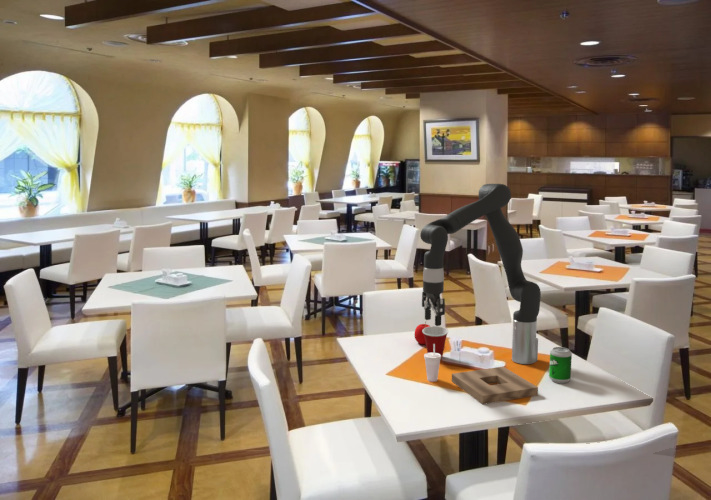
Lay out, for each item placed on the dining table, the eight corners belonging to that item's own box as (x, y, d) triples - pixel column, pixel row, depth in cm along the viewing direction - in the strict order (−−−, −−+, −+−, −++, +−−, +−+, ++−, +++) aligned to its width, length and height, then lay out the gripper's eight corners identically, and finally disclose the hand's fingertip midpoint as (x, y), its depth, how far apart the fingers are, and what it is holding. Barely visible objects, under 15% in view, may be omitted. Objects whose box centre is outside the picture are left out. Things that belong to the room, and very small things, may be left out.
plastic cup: (418, 360, 245) (419, 332, 243) (425, 352, 255) (426, 325, 253) (444, 363, 241) (445, 334, 239) (450, 355, 251) (451, 327, 249)
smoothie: (440, 383, 220) (440, 347, 218) (423, 382, 221) (423, 346, 219) (441, 377, 226) (441, 341, 224) (424, 376, 227) (424, 340, 225)
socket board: (503, 373, 229) (503, 366, 228) (537, 395, 208) (538, 387, 208) (451, 381, 222) (451, 373, 221) (482, 404, 201) (482, 395, 201)
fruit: (437, 345, 264) (437, 323, 262) (418, 347, 262) (418, 325, 260) (430, 339, 272) (430, 318, 271) (411, 341, 270) (411, 319, 269)
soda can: (570, 378, 224) (571, 347, 222) (570, 385, 217) (572, 353, 215) (549, 375, 226) (550, 345, 224) (548, 382, 219) (550, 351, 217)
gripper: (451, 282, 212) (450, 326, 215) (434, 275, 225) (433, 316, 228) (432, 284, 210) (432, 328, 212) (415, 276, 223) (415, 318, 226)
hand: (432, 322), depth 220 cm, fingers open, 8 cm apart
